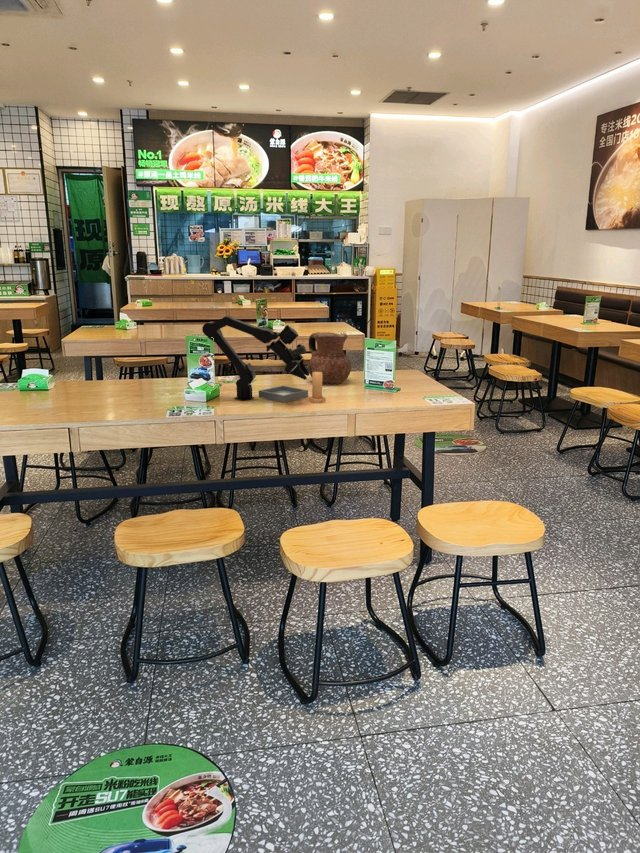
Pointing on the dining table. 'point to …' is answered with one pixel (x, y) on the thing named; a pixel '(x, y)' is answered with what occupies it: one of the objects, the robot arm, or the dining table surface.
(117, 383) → the dining table surface
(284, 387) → the grey square tray
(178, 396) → the dining table surface
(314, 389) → the peach joystick knob
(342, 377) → the jug
